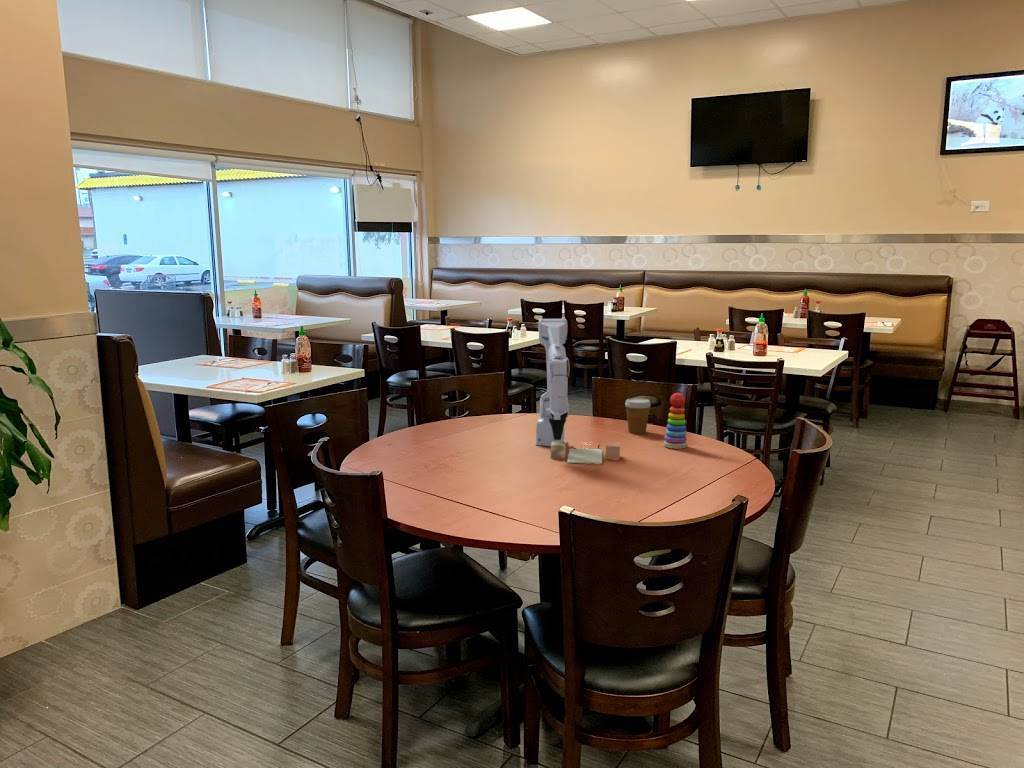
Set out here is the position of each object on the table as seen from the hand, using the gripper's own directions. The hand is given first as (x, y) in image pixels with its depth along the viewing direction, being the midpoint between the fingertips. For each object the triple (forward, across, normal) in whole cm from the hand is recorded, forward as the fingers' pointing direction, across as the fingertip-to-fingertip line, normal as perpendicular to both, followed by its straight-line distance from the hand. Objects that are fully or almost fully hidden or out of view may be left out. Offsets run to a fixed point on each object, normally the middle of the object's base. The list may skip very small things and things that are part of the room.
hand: (558, 436), depth 249 cm
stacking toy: (+7, -17, +39) cm, 43 cm away
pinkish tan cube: (+7, 0, +18) cm, 19 cm away
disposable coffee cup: (+7, -37, +27) cm, 46 cm away
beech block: (+7, 0, 0) cm, 7 cm away
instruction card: (+7, -13, +9) cm, 17 cm away
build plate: (+7, 0, +9) cm, 11 cm away
